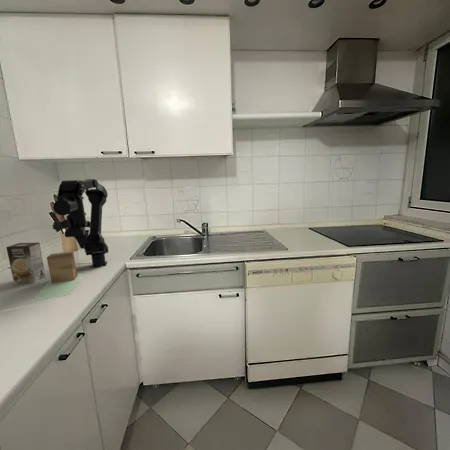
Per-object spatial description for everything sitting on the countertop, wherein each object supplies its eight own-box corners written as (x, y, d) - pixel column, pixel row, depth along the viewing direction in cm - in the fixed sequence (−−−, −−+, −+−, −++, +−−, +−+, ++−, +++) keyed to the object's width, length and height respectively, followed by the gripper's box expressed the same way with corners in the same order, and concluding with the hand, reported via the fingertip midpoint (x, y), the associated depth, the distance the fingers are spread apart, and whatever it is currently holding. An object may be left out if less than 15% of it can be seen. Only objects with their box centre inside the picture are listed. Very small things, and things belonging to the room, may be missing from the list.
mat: (52, 278, 101) (52, 277, 101) (84, 273, 105) (83, 272, 105) (30, 302, 81) (30, 301, 81) (71, 295, 85) (71, 294, 85)
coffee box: (13, 285, 96) (4, 247, 93) (25, 278, 102) (18, 242, 100) (36, 283, 96) (28, 245, 93) (47, 277, 103) (40, 241, 100)
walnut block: (55, 279, 99) (51, 254, 97) (77, 275, 102) (73, 251, 100) (51, 283, 95) (46, 257, 93) (74, 280, 97) (70, 254, 95)
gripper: (59, 210, 102) (66, 245, 105) (44, 216, 84) (52, 258, 88) (88, 208, 105) (94, 241, 109) (80, 214, 88) (86, 253, 91)
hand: (82, 248), depth 99 cm, fingers closed
